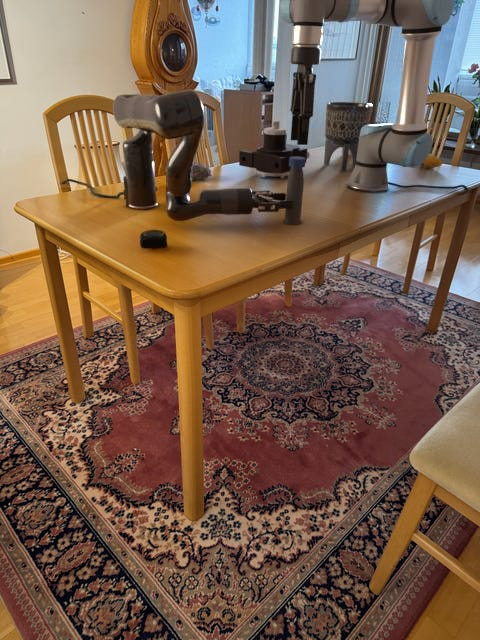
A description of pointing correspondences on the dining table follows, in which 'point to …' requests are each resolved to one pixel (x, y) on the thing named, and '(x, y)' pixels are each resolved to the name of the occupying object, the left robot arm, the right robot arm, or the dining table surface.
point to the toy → (431, 162)
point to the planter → (345, 129)
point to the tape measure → (153, 239)
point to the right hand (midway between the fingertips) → (298, 142)
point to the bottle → (294, 195)
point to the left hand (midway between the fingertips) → (288, 200)
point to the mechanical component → (272, 153)
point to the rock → (200, 172)
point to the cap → (297, 162)
